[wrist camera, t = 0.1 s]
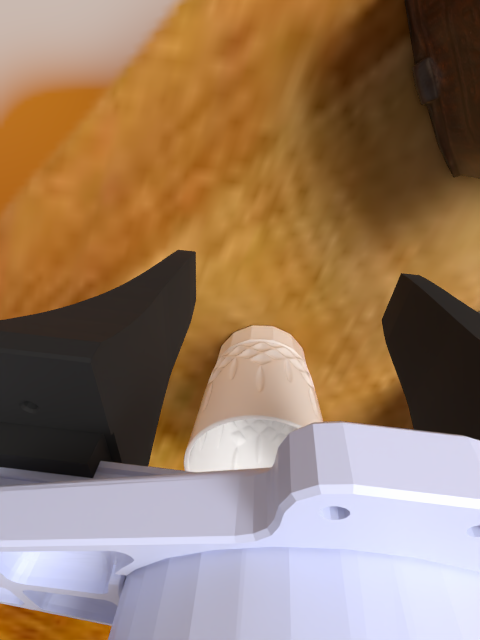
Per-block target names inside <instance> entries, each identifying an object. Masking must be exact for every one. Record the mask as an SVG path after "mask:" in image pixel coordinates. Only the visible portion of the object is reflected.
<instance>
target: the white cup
mask: <svg viewBox="0 0 480 640" xmlns="http://www.w3.org/2000/svg"><path fill="white" fill-rule="evenodd" d="M314 422H323V419H322V415H321V411H320V407H319V403H318V399H317V395H316V391H315V388H314V384H313V381H312V377H311V375H310V373H309V371H308V368H307V365H306V361H305V356H304V352H303V348H302V347H301V346H300V345H299V344H298V342H297V341H296V340H295V339H294V338H293V336H292V335H291V334H289V333H287V332H285V331H283V330H280V329H278V328H276V327H274V326H256V325H252V326H249V327H247V328H244V329H242V330H239V331H236V332H234V333H233V334H232V335H231V336H230V337H229V338H228V339H227V340H226V342H225V343H224V344H223V345H222V346H221V349H220V353H219V356H218V360H217V363H216V365H215V367H214V369H213V371H212V373H211V376H210V378H209V381H208V384H207V387H206V389H205V392H204V396H203V399H202V402H201V405H200V408H199V412H198V415H197V418H196V421H195V424H194V427H193V430H192V433H191V437H190V440H189V443H188V446H187V449H186V452H185V456H184V469H185V471H189V472H209V471H224V470H239V469H254V468H269V467H272V466H273V464H274V462H275V458H276V454H277V450H278V447H279V446H280V444H281V443H282V442H283V440H284V439H285V438H286V437H287V435H288V434H289V433H290V432H292V431H294V430H296V429H299V428H301V427H304V426H306V425H309V424H311V423H314Z"/></svg>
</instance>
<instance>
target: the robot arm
mask: <svg viewBox="0 0 480 640" xmlns="http://www.w3.org/2000/svg"><path fill="white" fill-rule="evenodd" d="M195 302H196V252H193V251H184V250H177V251H176V252H174V253H173V254H171V255H170V256H168V257H167V258H165V259H164V260H162V261H161V262H159V263H158V264H156V265H155V266H153V267H152V268H150V269H149V270H147V271H146V272H144V273H142V274H141V275H139V276H137V277H136V278H134V279H132V280H130V281H129V282H127V283H125V284H123V285H121V286H119V287H117V288H115V289H113V290H111V291H108V292H106V293H104V294H101V295H99V296H96V297H93V298H90V299H88V300H85V301H82V302H79V303H76V304H73V305H70V306H66V307H63V308H59V309H55V310H51V311H47V312H43V313H39V314H34V315H29V316H23V317H17V318H12V319H6V320H0V603H2V604H7V605H12V606H17V607H22V608H27V609H32V610H37V611H42V612H47V613H52V614H56V615H61V616H66V617H71V618H76V619H81V620H86V621H91V622H96V623H101V624H106V625H111V626H112V627H111V631H110V634H109V638H108V640H480V313H478V312H476V311H475V310H473V309H472V308H470V307H469V306H467V305H466V304H464V303H463V302H461V301H460V300H458V299H457V298H455V297H454V296H452V295H451V294H449V293H448V292H446V291H445V290H443V289H442V288H440V287H439V286H437V285H435V284H434V283H432V282H431V281H429V280H427V279H426V278H424V277H422V276H420V275H412V274H402V273H401V275H400V278H399V280H398V282H397V285H396V287H395V289H394V292H393V294H392V297H391V299H390V301H389V304H388V306H387V309H386V311H385V313H384V316H383V318H382V324H383V330H384V336H385V341H386V344H387V347H388V350H389V353H390V356H391V359H392V361H393V364H394V367H395V369H396V372H397V375H398V377H399V380H400V383H401V386H402V388H403V391H404V394H405V397H406V400H407V403H408V406H409V410H410V415H411V419H412V423H413V427H414V430H413V429H404V428H395V427H387V426H378V425H369V424H361V423H352V422H343V421H332V422H314V423H311V424H309V425H306V426H304V427H301V428H299V429H296V430H294V431H292V432H290V433H289V434H288V435H287V437H286V438H285V439H284V440H283V442H282V443H281V444H280V446H279V447H278V450H277V454H276V458H275V462H274V464H273V466H272V467H269V468H254V469H239V470H224V471H209V472H189V471H181V470H173V469H164V468H156V467H148V464H149V460H150V455H151V451H152V446H153V442H154V438H155V433H156V429H157V425H158V421H159V417H160V412H161V408H162V404H163V400H164V397H165V393H166V389H167V385H168V381H169V378H170V375H171V372H172V369H173V366H174V364H175V361H176V359H177V356H178V354H179V351H180V348H181V346H182V343H183V341H184V338H185V336H186V333H187V330H188V328H189V325H190V323H191V319H192V315H193V311H194V306H195Z"/></svg>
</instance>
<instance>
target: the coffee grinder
mask: <svg viewBox="0 0 480 640" xmlns="http://www.w3.org/2000/svg"><path fill="white" fill-rule="evenodd" d="M405 6H406V11H407V17H408V23H409V29H410V35H411V41H412V48H413V54H414V60H415V66H413V67H412V71H413V77H414V83H415V87H416V90H417V93H418V96H419V99H420V102H421V105H423V104H425V105H426V106H427V108H428V111H429V114H430V118H431V121H432V125H433V128H434V132H435V135H436V139H437V142H438V146H439V148H440V150H441V152H442V154H443V156H444V158H445V161H446V163H447V165H448V167H449V169H450V171H451V173H452V175H453V177H457V176H460V175H461V176H467V177H473V178H479V179H480V0H405Z"/></svg>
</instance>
